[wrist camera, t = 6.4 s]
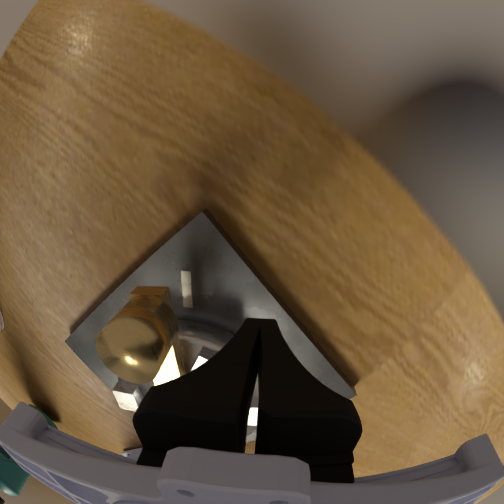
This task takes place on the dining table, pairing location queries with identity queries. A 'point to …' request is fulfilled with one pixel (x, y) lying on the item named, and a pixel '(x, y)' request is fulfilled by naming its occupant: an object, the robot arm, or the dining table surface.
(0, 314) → the foam cup
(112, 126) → the dining table surface
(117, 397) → the metal round piece
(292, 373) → the robot arm
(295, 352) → the dark grey square plate
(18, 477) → the beverage bottle
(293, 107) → the dining table surface
